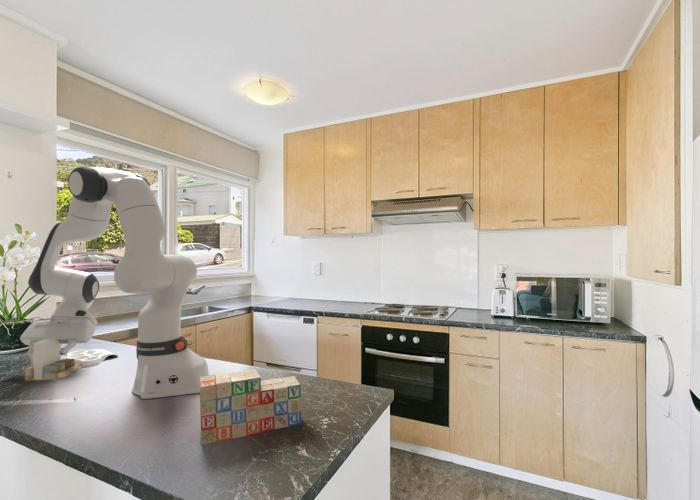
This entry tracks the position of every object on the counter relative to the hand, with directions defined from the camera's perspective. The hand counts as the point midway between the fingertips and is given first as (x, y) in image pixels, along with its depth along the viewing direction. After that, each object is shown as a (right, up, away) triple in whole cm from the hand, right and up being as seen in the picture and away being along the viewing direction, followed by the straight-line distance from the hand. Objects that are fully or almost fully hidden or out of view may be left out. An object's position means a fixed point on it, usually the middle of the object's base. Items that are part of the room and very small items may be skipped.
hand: (46, 354), depth 112 cm
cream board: (0, -6, +1) cm, 6 cm away
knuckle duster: (+2, -8, +16) cm, 18 cm away
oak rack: (+2, -7, +1) cm, 8 cm away
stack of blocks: (+74, -7, -32) cm, 82 cm away
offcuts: (+3, -6, +1) cm, 7 cm away
